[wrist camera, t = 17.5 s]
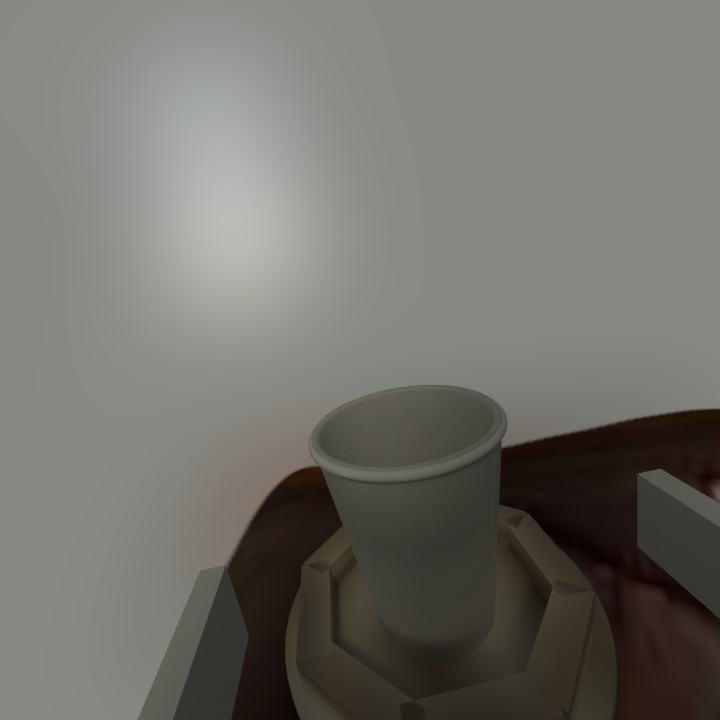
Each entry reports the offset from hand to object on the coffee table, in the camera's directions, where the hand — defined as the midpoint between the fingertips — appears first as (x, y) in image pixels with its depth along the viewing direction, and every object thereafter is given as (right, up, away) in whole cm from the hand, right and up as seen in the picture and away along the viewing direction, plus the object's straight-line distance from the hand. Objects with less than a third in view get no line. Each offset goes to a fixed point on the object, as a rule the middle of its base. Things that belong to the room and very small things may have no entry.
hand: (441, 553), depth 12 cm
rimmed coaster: (+1, -7, +7) cm, 10 cm away
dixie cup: (+1, -6, +7) cm, 9 cm away
